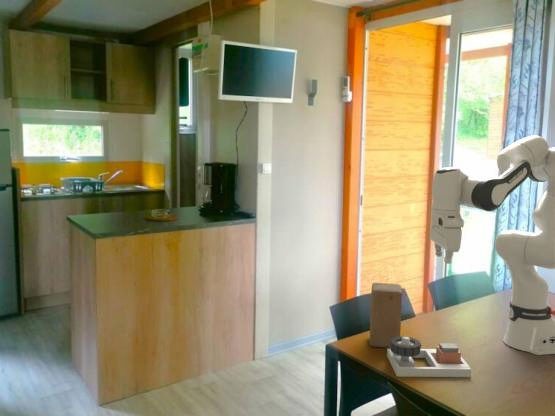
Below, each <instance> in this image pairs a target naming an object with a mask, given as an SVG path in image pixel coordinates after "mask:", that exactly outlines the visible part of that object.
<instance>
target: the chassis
mask: <svg viewBox="0 0 555 416" xmlns="http://www.w3.org/2000/svg"><path fill="white" fill-rule="evenodd" d="M409 337H410V336H406V337H402V345H405V346H410V338H409ZM386 356H387V357H386V358H387V359H388V361H389V364H390V365H391V367H392V369H393V372H394V374H395V375H396V377H403V378H404V377H405V378H407V377H413V378H414V377H415V378H416V377H419V378H425V377H426V378H430V377H431V378H432V377H435V378H471V377H472V368H471V366H470V365H469V364H468V363H467V362H466V360H465V359H464V358H463V356H461V363H460V364H438V363H437V362H436V348H421V350H420V354H419V355H417V356H412V357H405V356H400V355H398V354H395V353H393V352H392V351H391V349H390V348H386ZM414 359H425V360H426V361H427V363H428V365H429V366H416V363H415V361H414Z"/></svg>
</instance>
